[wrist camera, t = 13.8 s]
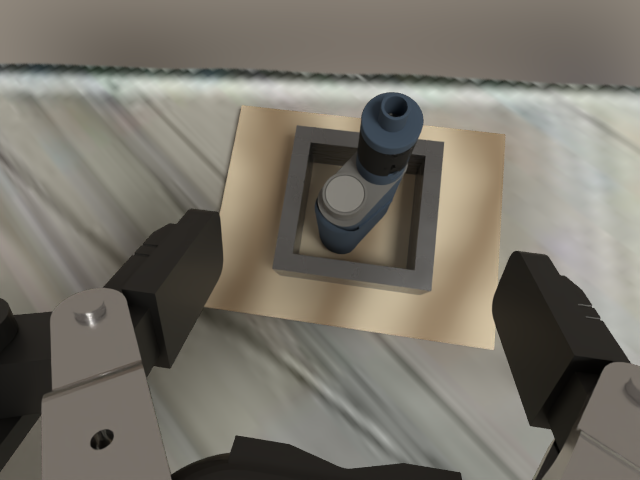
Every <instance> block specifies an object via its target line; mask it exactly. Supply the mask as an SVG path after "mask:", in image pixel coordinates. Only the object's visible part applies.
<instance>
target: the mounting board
mask: <svg viewBox="0 0 640 480" xmlns="http://www.w3.org/2000/svg"><path fill="white" fill-rule="evenodd" d="M297 125H299V126H308V127H317V128H326V129H334V130H343V131H352V132H360V125H361V118H352V117H343V116H334V115H325V114H316V113H307V112H298V111H289V110H280V109H271V108H261V107H252V106H243V105H242V107H241V112H240V117H239V122H238V127H237V132H236V137H235V142H234V147H233V151H232V156H231V161H230V166H229V171H228V176H227V181H226V186H225V191H224V195H223V200H222V205H221V210H220V219H221V232H222V245H223V268H222V272H221V276H220V278H219V280H218V282H217V284H216V286H215V287H214V289H213V291H212V293H211V295H210V297H209V298H208V300H207V302H206V304H205V306H204V307H209V308H215V309H222V310H229V311H236V312H242V313H249V314H256V315H262V316H269V317H276V318H283V319H289V320H296V321H303V322H310V323H316V324H323V325H330V326H336V327H343V328H350V329H357V330H363V331H370V332H377V333H384V334H390V335H397V336H404V337H410V338H417V339H424V340H431V341H437V342H444V343H451V344H458V345H464V346H471V347H478V348H484V349H491V350H494V341H495V322H494V320H493V316H492V301H493V297H494V294H495V291H496V289H497V284H498V265H499V246H500V227H501V208H502V189H503V170H504V151H505V134H497V133H488V132H479V131H470V130H461V129H452V128H443V127H434V126H425V125H423V128H422V131H421V134H420V136H419V138H418V139H423V140H432V141H441V142H444V152H443V163H442V175H441V187H440V198H439V210H438V221H437V233H436V244H435V256H434V267H433V279H432V290H431V291H430V292H428V293H425V294H422V295H415V294H407V293H400V292H393V291H386V290H379V289H372V288H365V287H358V286H351V285H344V284H336V283H329V282H322V281H315V280H308V279H301V278H294V277H287V276H280V275H279V274H277V273H276V272H275V271H274V270H273V269H272V267H273V261H274V255H275V249H276V243H277V237H278V232H279V226H280V220H281V214H282V208H283V202H284V196H285V191H286V185H287V179H288V173H289V167H290V161H291V156H292V150H293V144H294V138H295V132H296V126H297ZM341 167H342V166H337V165H329V164H321V163H313V169H312V176H311V182H310V188H309V194H308V201H307V207H306V213H305V220H304V226H303V232H302V239H301V245H300V251H299V255H306V256H313V257H320V258H328V259H335V260H342V261H350V262H357V263H364V264H371V265H379V266H386V267H393V268H401V269H406V266H407V256H408V246H409V236H410V226H411V216H412V206H413V196H414V187H415V177H416V175H413V174H404V175H403V177H402V179H401V181H400V184H399V186H398V188H397V190H396V193H395V195H394V197H393V199H392V200H393V201H392V202H391V204H390V206H389V208H388V210H387V213H386V214H385V215H384V216H383V218H382V219H381V220H380V221H379V222H378V223H377V224H376V225H375V226H374V227H373V228H372V230H371V231H370V232H369V233H368V234H367V235H366V236H365V237H364V238H363V239H362V240H361V241H360V243H359V244H358V245H357V246H356V247H355V249H354V250H352V251H351V252H350V253H347V254H337V253H334V252H331V251H330V250H328V249H327V248H326V247H325V246H324V245H323V243H322V241H321V239H320V235H319V230H318V225H317V219H316V214H315V202H316V199H317V198H318V194H319V192H320V190H321V188H322V187H323V186H324V185H325V183H326V181H327V180H328V179H329V178H330V177H332V176H333V175H335V174H336V173H337V172H338V171H339V169H340V168H341Z"/></svg>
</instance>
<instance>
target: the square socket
mask: <svg viewBox="0 0 640 480" xmlns="http://www.w3.org/2000/svg"><path fill="white" fill-rule="evenodd" d="M359 133H360V132H352V131H343V130H334V129H326V128H317V127H308V126H299V125H297V126H296V132H295V138H294V144H293V150H292V156H291V161H290V167H289V173H288V179H287V185H286V191H285V196H284V202H283V208H282V214H281V220H280V226H279V232H278V237H277V243H276V249H275V255H274V261H273V267H272V269H273V270H274V271H275V272H276V273H277V274H279V275H280V276H287V277H294V278H301V279H308V280H315V281H322V282H329V283H336V284H344V285H351V286H358V287H365V288H372V289H379V290H386V291H393V292H400V293H407V294H415V295H422V294H425V293H428V292H430V291H431V290H432V279H433V267H434V256H435V244H436V233H437V221H438V210H439V198H440V187H441V175H442V163H443V152H444V142H441V141H432V140H423V139H418V140H417V143H416V145H415V147H414V149H413V152H412V154H411V155H410V159H409V161H408V166H407V169H406V172H405V173H404V174H413V175H416V177H415V187H414V196H413V206H412V216H411V226H410V236H409V246H408V256H407V266H406V269H401V268H393V267H386V266H379V265H371V264H364V263H357V262H350V261H342V260H335V259H328V258H320V257H313V256H306V255H299V251H300V245H301V239H302V232H303V226H304V220H305V213H306V207H307V201H308V194H309V188H310V182H311V176H312V169H313V163H321V164H329V165H337V166H343V165H344V164H345V163H346V162H347V161H348V160H349V159H350V158H351V157H352V156H353V155H354V154H355V153H356V152H357V149H358V142H359Z"/></svg>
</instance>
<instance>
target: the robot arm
mask: <svg viewBox="0 0 640 480" xmlns="http://www.w3.org/2000/svg"><path fill="white" fill-rule="evenodd" d="M222 268H223V245H222V232H221V219H220V215H219V213H218V212H215V211H207V210H199V209H189V210H188V211H187V212H186V214H185V215H184V216H183V217H182V218H181V219H180V221H179V222H178V223H177V224H168V225H166V226H164V227H162V228H160V229H159V230H157V231H155V232H153V233H152V235H151V236H150V237H149V238H148V239H147V240H146V241H145V242H144V243H143V246H141V247H140V248H139V249H138V250H137V251H136V252H135V255H132V256H131V257H130V259H129V260H128V261H127V262H126V263H125V264H124V265H123V266H122V267H121V268H120V269H119V271H118V272H117V273H116V274H115V275H114V276H113V277H112V278H111V279H110V280H109V281H108V283H107V284H106V285H105V286H104V287H103V288H95V289H89V290H85V291H82V292H79V293H76V294H74V295H72V296H70V297H68V298H67V299H65V300H63V301H62V302H61V303H60V304H59V305H58V306H57V307H56V308H55V309H54V311H53V312H44V313H33V314H22V315H13V313H12V311H11V309H10V307H9V305H8V303H7V302H6V301H5V300H3V299H1V298H0V471H1V470H2V469H3V467H4V466H5V464H6V463H7V462H8V460H9V459H10V457H11V456H12V455H13V453H14V452H15V450H16V449H17V448H18V446H19V445H20V444H21V442H22V441H23V439H24V438H25V437H26V435H27V434H28V432H29V431H30V430H31V428H32V427H33V425H34V424H35V423H36V421H37V420H38V418H39V417H40V416H41V414H42V480H462V477H461V473H460V472H454V471H448V470H442V469H436V468H430V467H424V466H418V465H412V464H406V463H401V464H391V465H382V466H372V467H363V468H353V469H346V468H341V467H339V466H336V465H334V464H332V463H330V462H328V461H325V460H323V459H321V458H319V457H317V456H314V455H312V454H310V453H308V452H305V451H303V450H301V449H299V448H297V447H294V446H292V445H290V444H285V443H279V442H273V441H267V440H261V439H255V438H248V437H242V436H235V440H234V443H233V446H232V449H231V452H230V453H225V454H219V455H215V456H211V457H207V458H204V459H201V460H199V461H196V462H193V463H191V464H189V465H187V466H185V467H183V468H181V469H179V470H178V471H176V472H175V473H173V474H171V472H170V468H169V464H168V460H167V456H166V452H165V449H164V445H163V441H162V437H161V433H160V429H159V425H158V421H157V417H156V413H155V409H154V405H153V401H152V397H151V393H150V389H149V386H148V382H147V376H148V374H149V373H150V371H151V369H152V368H153V366H158V367H164V368H171V366H172V364H173V363H174V361H175V359H176V357H177V355H178V353H179V352H180V350H181V348H182V346H183V344H184V342H185V341H186V339H187V337H188V335H189V333H190V331H191V330H192V328H193V326H194V324H195V322H196V320H197V319H198V317H199V315H200V313H201V311H202V309H203V308H204V306H205V304H206V302H207V300H208V298H209V297H210V295H211V293H212V291H213V289H214V287H215V286H216V284H217V282H218V280H219V278H220V276H221V272H222ZM492 316H493V320H494V322H495V325H496V328H497V331H498V334H499V337H500V340H501V343H502V346H503V349H504V352H505V355H506V357H507V360H508V363H509V366H510V369H511V372H512V375H513V378H514V381H515V384H516V387H517V390H518V392H519V395H520V398H521V401H522V404H523V407H524V410H525V413H526V416H527V419H528V422H529V425H530V426H533V427H540V428H546V429H551V430H552V432H553V435H554V440H553V441H552V442H551V444H550V445H549V447H548V449H547V451H546V453H545V455H544V457H543V459H542V461H541V463H540V465H539V467H538V469H537V471H536V473H535V475H534V477H533V479H532V480H640V366H637V365H634V364H631V363H630V361H629V360H628V358H627V357H626V355H625V354H624V352H623V351H622V349H621V348H620V346H619V345H618V343H617V342H616V340H615V339H614V337H613V336H612V334H611V333H610V331H609V330H608V328H607V327H606V325H605V324H604V322H603V321H600V316H599V315H598V313H597V312H596V310H595V309H594V308H592V304H591V303H590V301H589V300H588V298H587V297H586V295H585V294H584V292H583V291H582V290H581V289H580V288H579V287H578V286H577V285H575V284H574V283H573V282H572V281H571V280H569V279H568V278H567V277H566V276H561V275H560V274H559V273H558V271H557V269H556V268H555V266H554V265H553V263H552V261H551V260H550V258H549V257H548V256H547V255H545V254H537V253H529V252H521V251H515V252H513V253H512V254H511V256H510V258H509V260H508V262H507V265H506V267H505V270H504V272H503V274H502V277H501V279H500V282H499V284H498V286H497V289H496V291H495V294H494V297H493V301H492Z"/></svg>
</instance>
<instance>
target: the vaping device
mask: <svg viewBox="0 0 640 480" xmlns="http://www.w3.org/2000/svg"><path fill="white" fill-rule="evenodd" d="M422 128H423V114H422V111H421V109H420V107H419V106H418V104H417V103H416V102H415V101H414V100H413V99H411V98H410V97H408V96H406V95H404V94H401V93H395V92H389V93H383V94H380V95H378V96H376V97H374V98H373V99H371V100H370V101H369V102H368V103H367V105H366V106H365V108H364V110H363V112H362V117H361V125H360V133H359V142H358V149H357V152H356V153H355V154H354V155H353V156H352V157H351V158H350V159H349V160H348V161H347V162H346V163H345V164H344V165H343V166H342V167H341V168H340V169H339V171H338V172H337V173H336V174H335V175H333V176H332V177H330V178H329V179H328V180H327V181H326V183H325V185H324V186H323V187H322V188H321V190H320V192H319V194H318V198H317V199H316V202H315V214H316V219H317V225H318V230H319V235H320V239H321V241H322V243H323V245H324V246H325V247H326V248H327V249H328V250H330V251H331V252H334V253H337V254H347V253H350V252H351V251H352V250H354V249H355V247H356V246H357V245H358V244H359V243H360V241H361V240H362V239H363V238H364V237H365V236H366V235H367V234H368V233H369V232H370V231H371V230H372V228H373V227H374V226H375V225H376V224H377V223H378V222H379V221H380V220H381V219H382V218H383V216H384V215H385V214H386V213H387V210H388V208H389V206H390V204H391V202H392V201H393V200H392V199H393V197H394V195H395V193H396V190H397V188H398V186H399V184H400V181H401V179H402V177H403V175H404V173H405V172H406V169H407V166H408V161H409V159H410V155H411V154H412V152H413V149H414V147H415V145H416V143H417V140H418V138H419V136H420V134H421V131H422Z"/></svg>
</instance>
